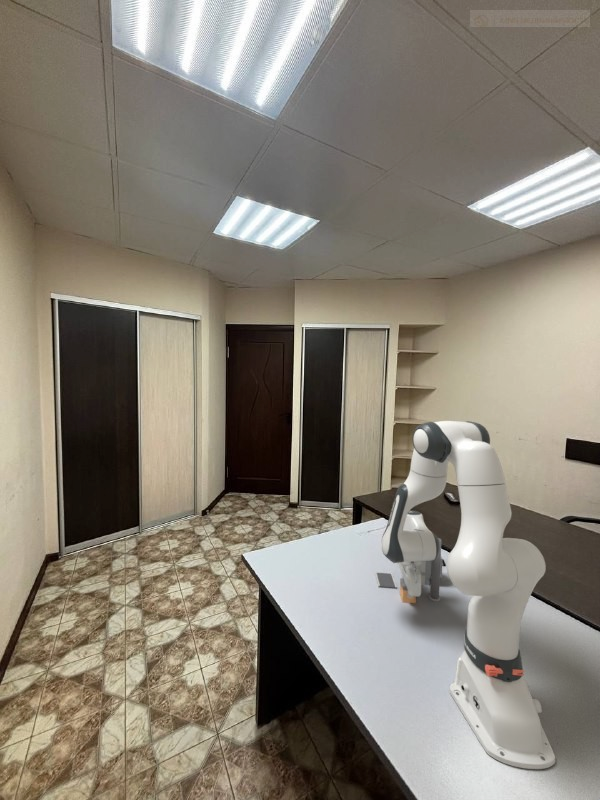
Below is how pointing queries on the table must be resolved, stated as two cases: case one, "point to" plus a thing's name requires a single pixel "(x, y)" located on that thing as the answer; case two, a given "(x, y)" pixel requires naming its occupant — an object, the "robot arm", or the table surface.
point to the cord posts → (435, 577)
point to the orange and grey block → (405, 593)
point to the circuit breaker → (428, 571)
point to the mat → (385, 580)
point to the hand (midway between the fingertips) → (407, 592)
